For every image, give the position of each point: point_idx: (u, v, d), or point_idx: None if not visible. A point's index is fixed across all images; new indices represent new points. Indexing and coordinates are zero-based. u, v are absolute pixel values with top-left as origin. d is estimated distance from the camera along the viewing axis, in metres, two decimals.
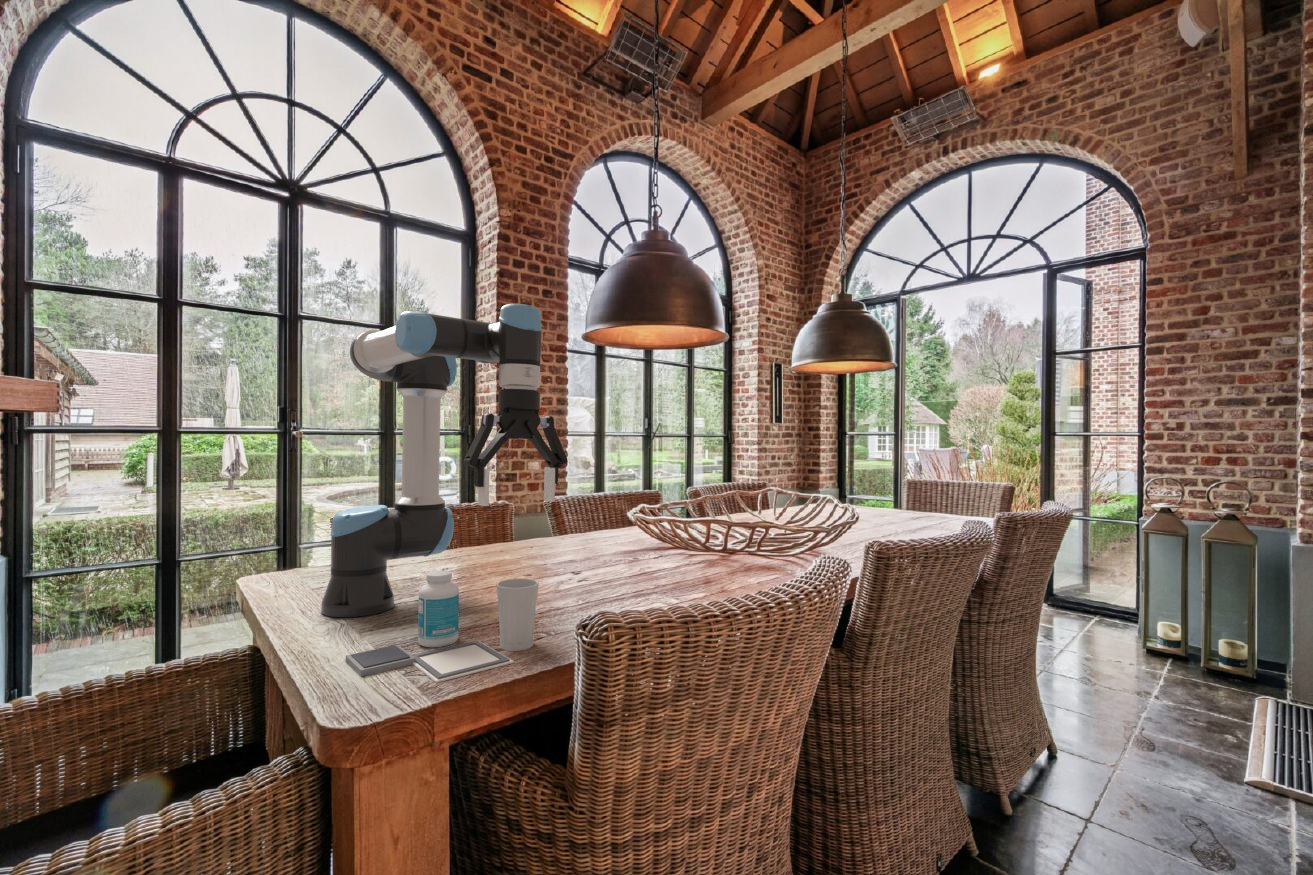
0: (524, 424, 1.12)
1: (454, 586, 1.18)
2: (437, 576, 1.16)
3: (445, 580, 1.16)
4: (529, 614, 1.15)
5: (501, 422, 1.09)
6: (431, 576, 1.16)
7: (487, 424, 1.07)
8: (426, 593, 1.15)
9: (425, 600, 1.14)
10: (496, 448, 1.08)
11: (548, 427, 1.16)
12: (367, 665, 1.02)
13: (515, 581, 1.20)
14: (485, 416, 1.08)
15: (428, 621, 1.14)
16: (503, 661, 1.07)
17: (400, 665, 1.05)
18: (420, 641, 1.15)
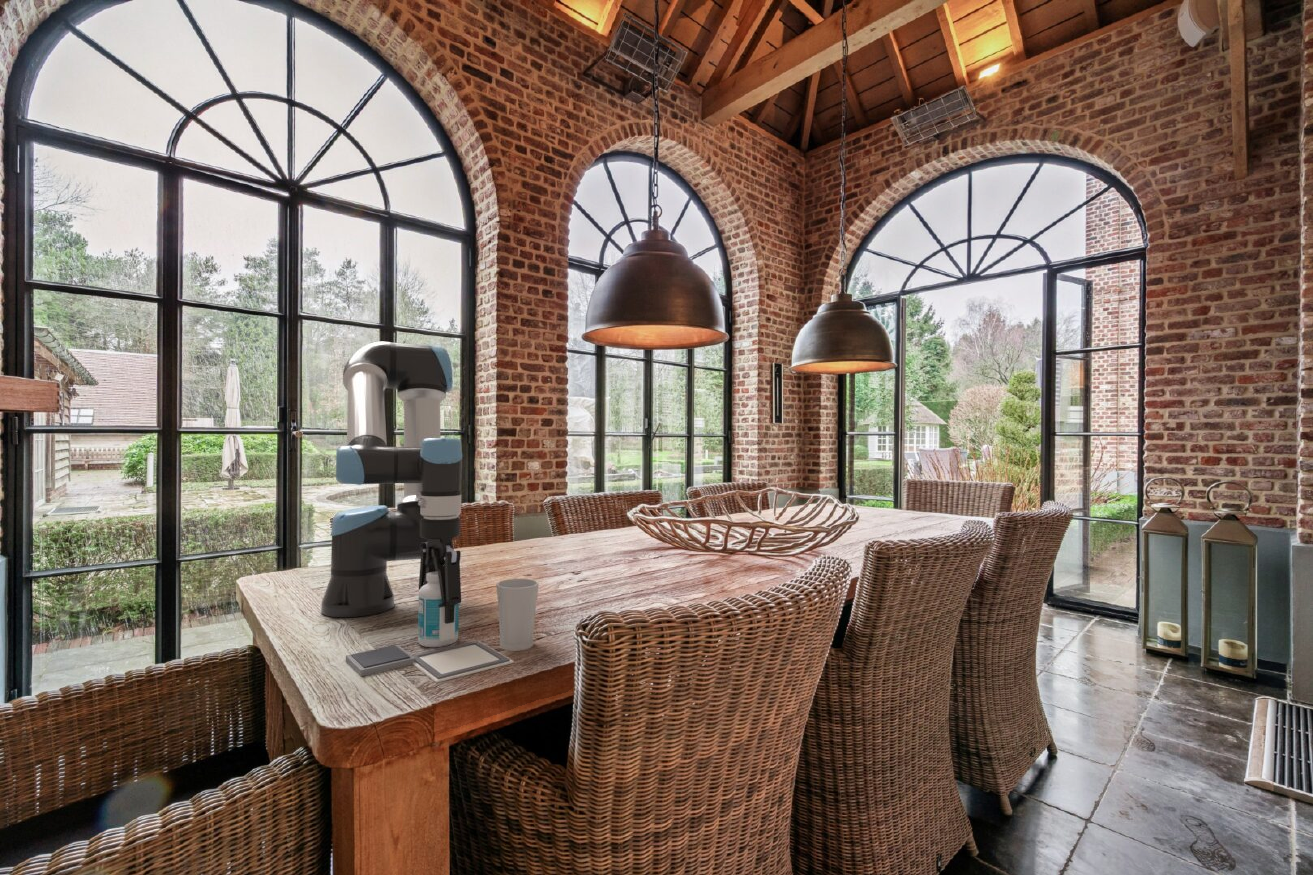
0: None
1: None
2: (437, 576, 1.16)
3: None
4: (529, 614, 1.15)
5: None
6: (431, 576, 1.16)
7: (421, 553, 1.22)
8: (426, 593, 1.15)
9: (425, 600, 1.14)
10: None
11: None
12: (367, 665, 1.02)
13: (515, 581, 1.20)
14: None
15: (428, 621, 1.14)
16: (503, 661, 1.07)
17: (400, 665, 1.05)
18: (420, 641, 1.15)
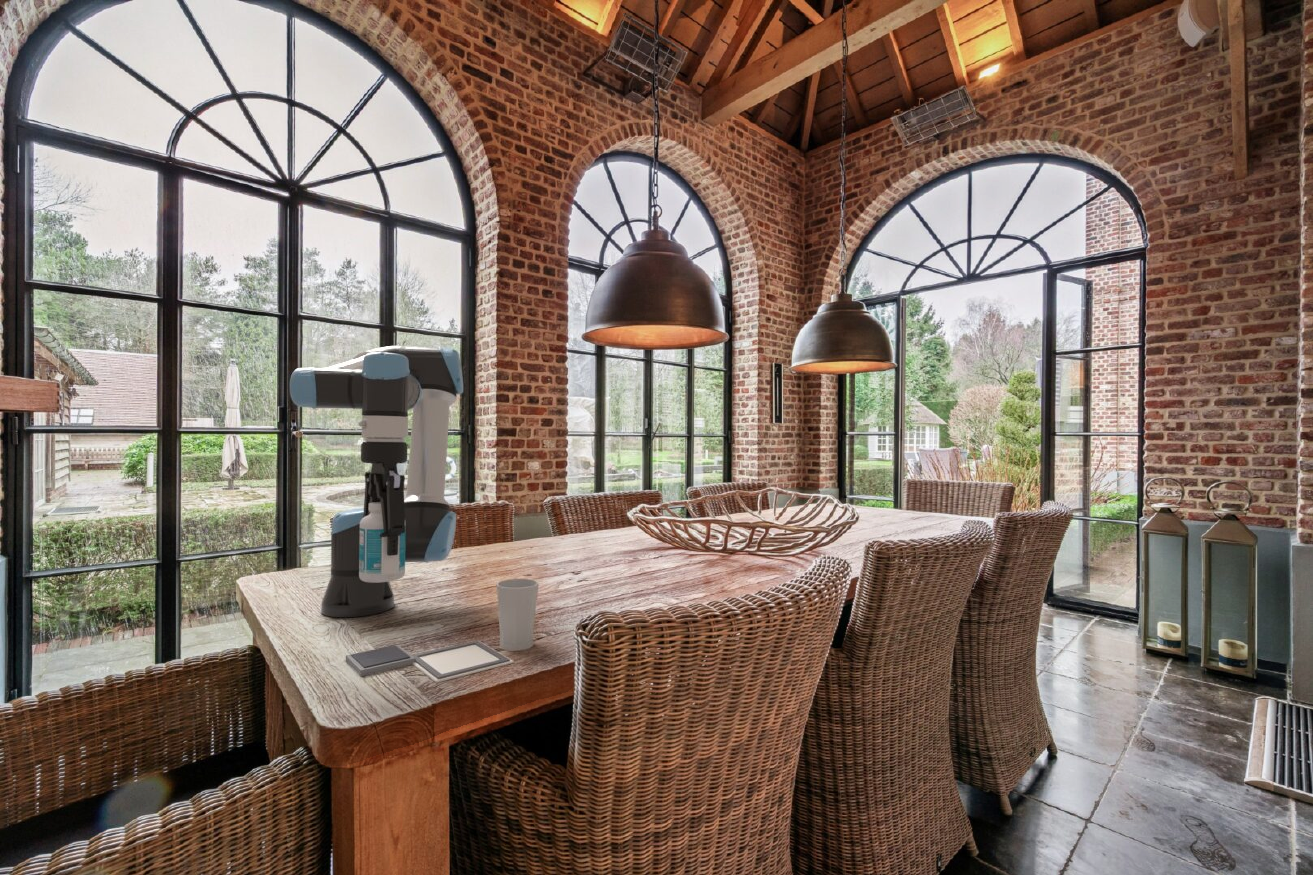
0: None
1: None
2: (380, 505, 1.05)
3: None
4: (529, 614, 1.15)
5: None
6: (373, 505, 1.05)
7: (365, 483, 1.11)
8: (366, 523, 1.04)
9: (366, 530, 1.03)
10: None
11: None
12: (367, 665, 1.02)
13: (515, 581, 1.20)
14: None
15: (369, 554, 1.03)
16: (503, 661, 1.07)
17: (400, 665, 1.05)
18: (361, 576, 1.04)
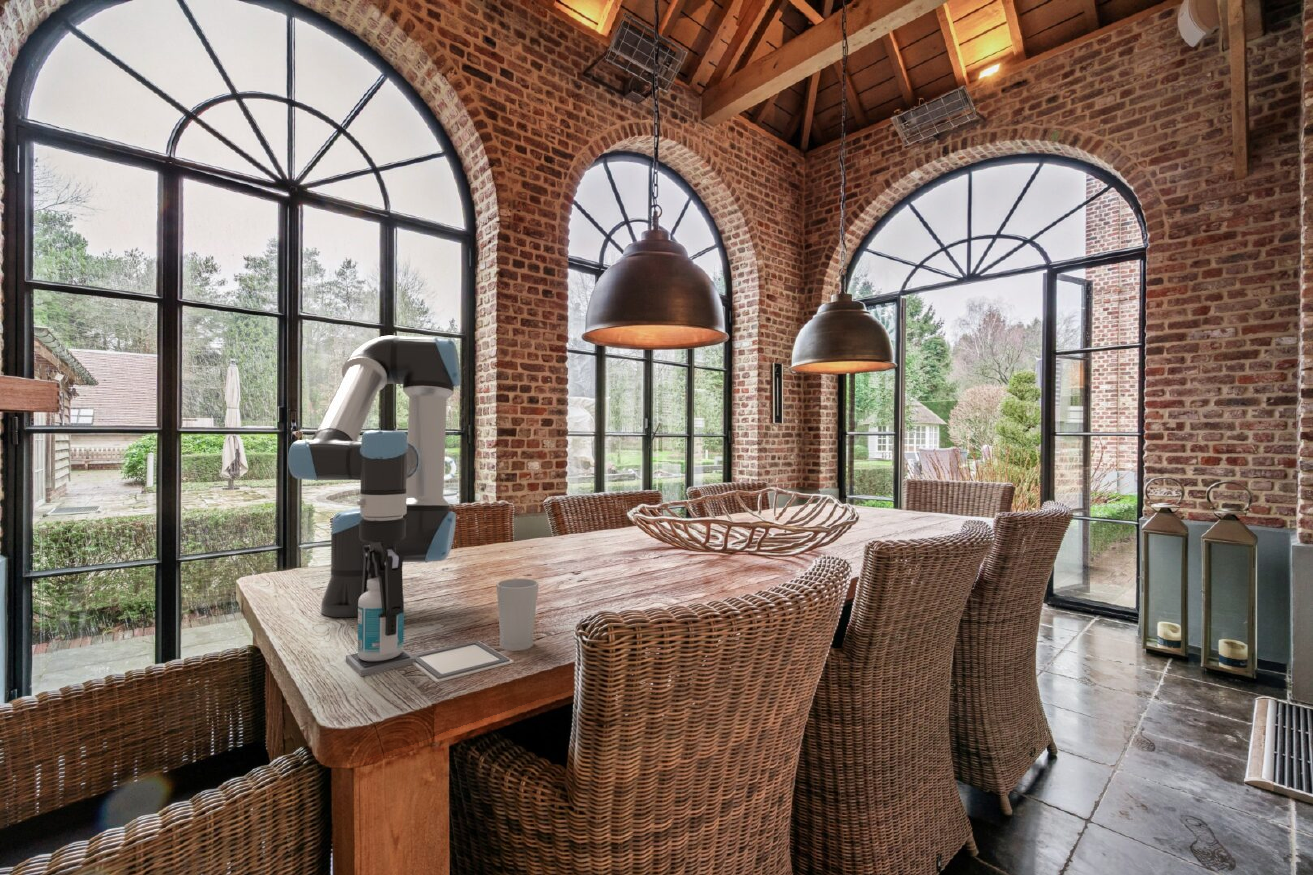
0: None
1: None
2: (378, 583, 1.05)
3: None
4: (529, 614, 1.15)
5: None
6: (372, 583, 1.05)
7: (364, 557, 1.11)
8: (365, 602, 1.04)
9: (365, 609, 1.03)
10: None
11: None
12: (367, 665, 1.02)
13: (515, 581, 1.20)
14: None
15: (368, 633, 1.03)
16: (503, 661, 1.07)
17: (400, 665, 1.05)
18: (359, 654, 1.04)
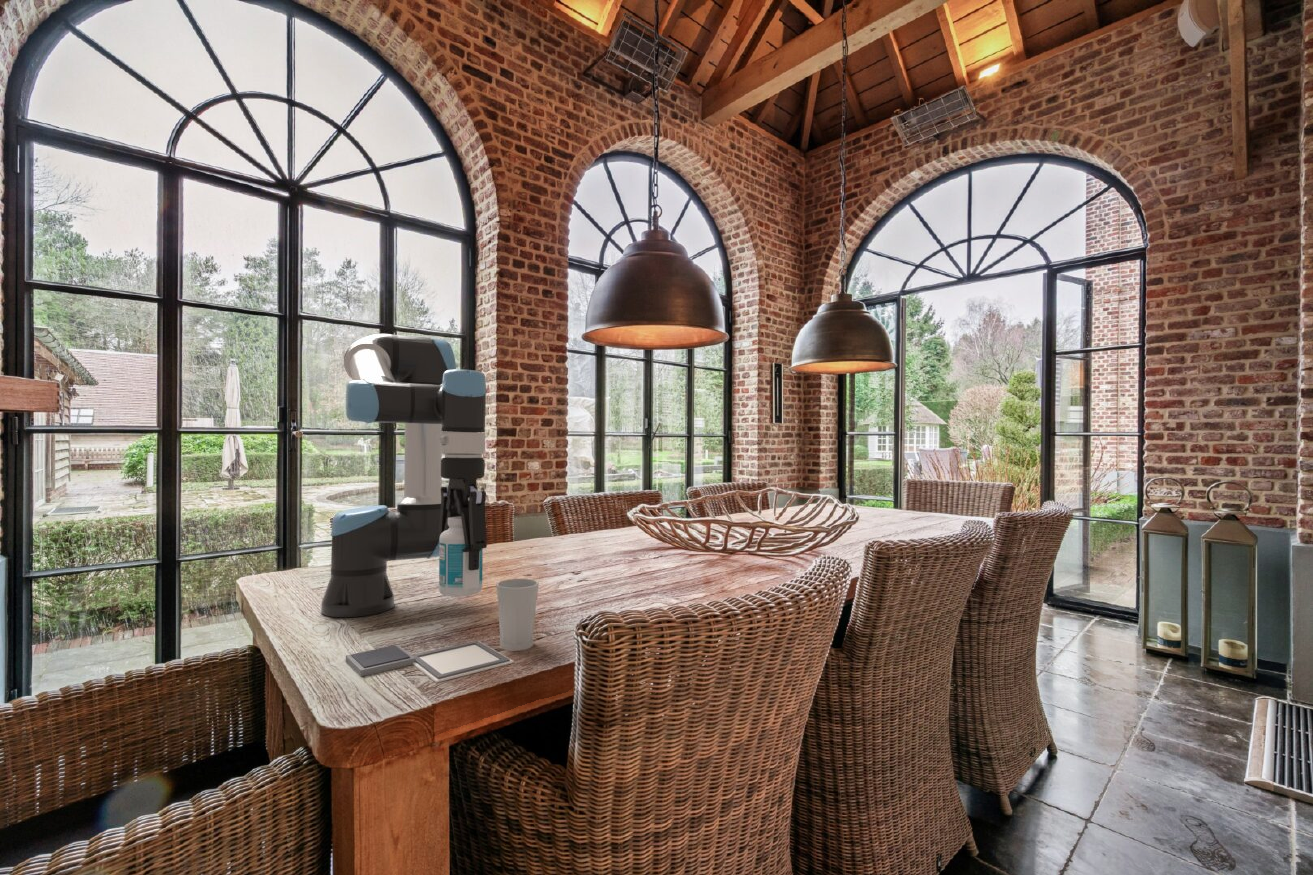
0: None
1: None
2: (460, 519, 1.06)
3: None
4: (529, 614, 1.15)
5: None
6: (453, 519, 1.06)
7: (441, 498, 1.12)
8: (447, 538, 1.05)
9: (447, 545, 1.05)
10: (447, 521, 1.10)
11: None
12: (367, 665, 1.02)
13: (515, 581, 1.20)
14: None
15: (451, 568, 1.05)
16: (503, 661, 1.07)
17: (400, 665, 1.05)
18: (441, 590, 1.05)
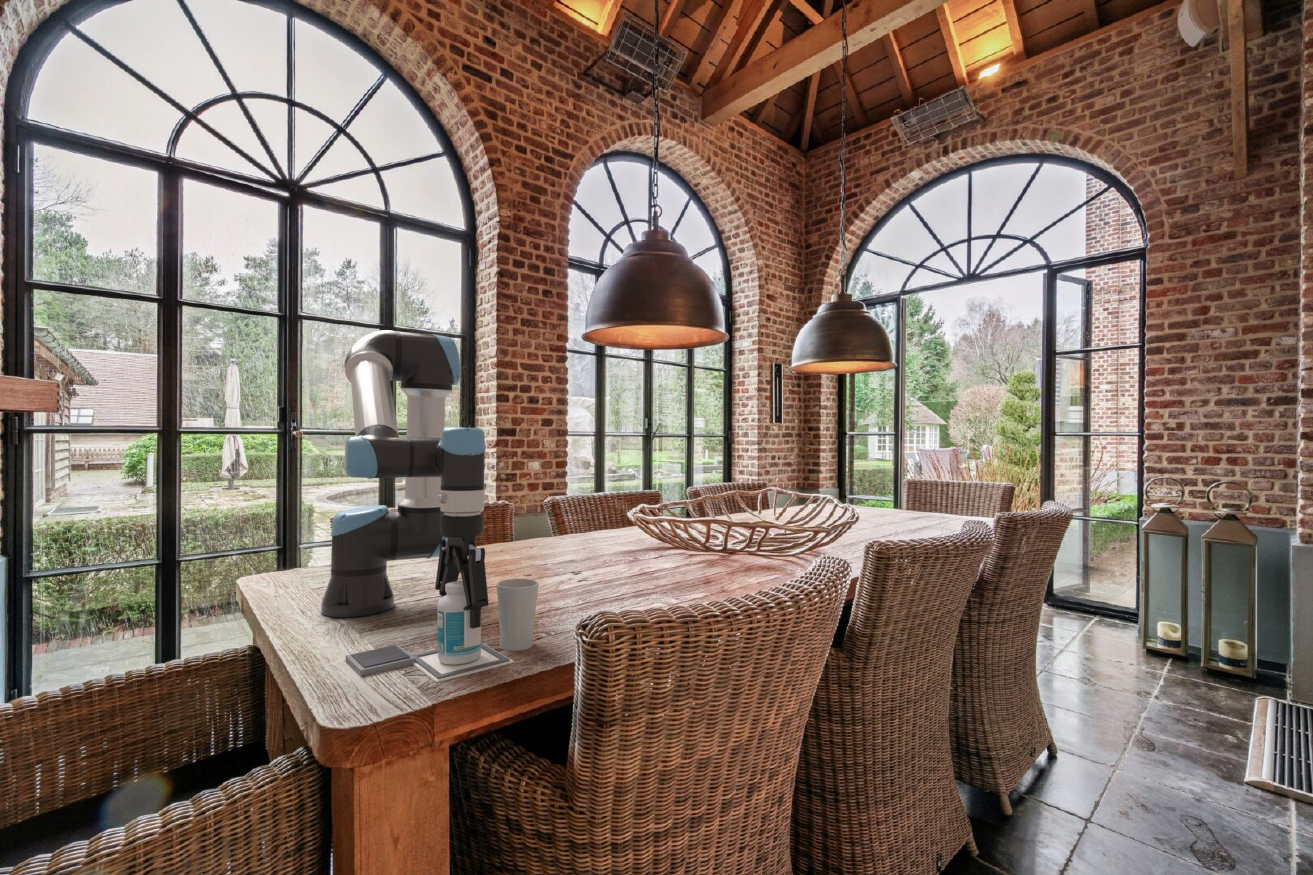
0: None
1: None
2: (457, 587, 1.06)
3: None
4: (529, 614, 1.15)
5: None
6: (451, 587, 1.06)
7: (440, 550, 1.12)
8: (445, 606, 1.05)
9: (445, 613, 1.05)
10: (445, 575, 1.10)
11: None
12: (367, 665, 1.02)
13: (515, 581, 1.20)
14: None
15: (449, 636, 1.05)
16: (503, 661, 1.07)
17: (400, 665, 1.05)
18: (440, 658, 1.05)
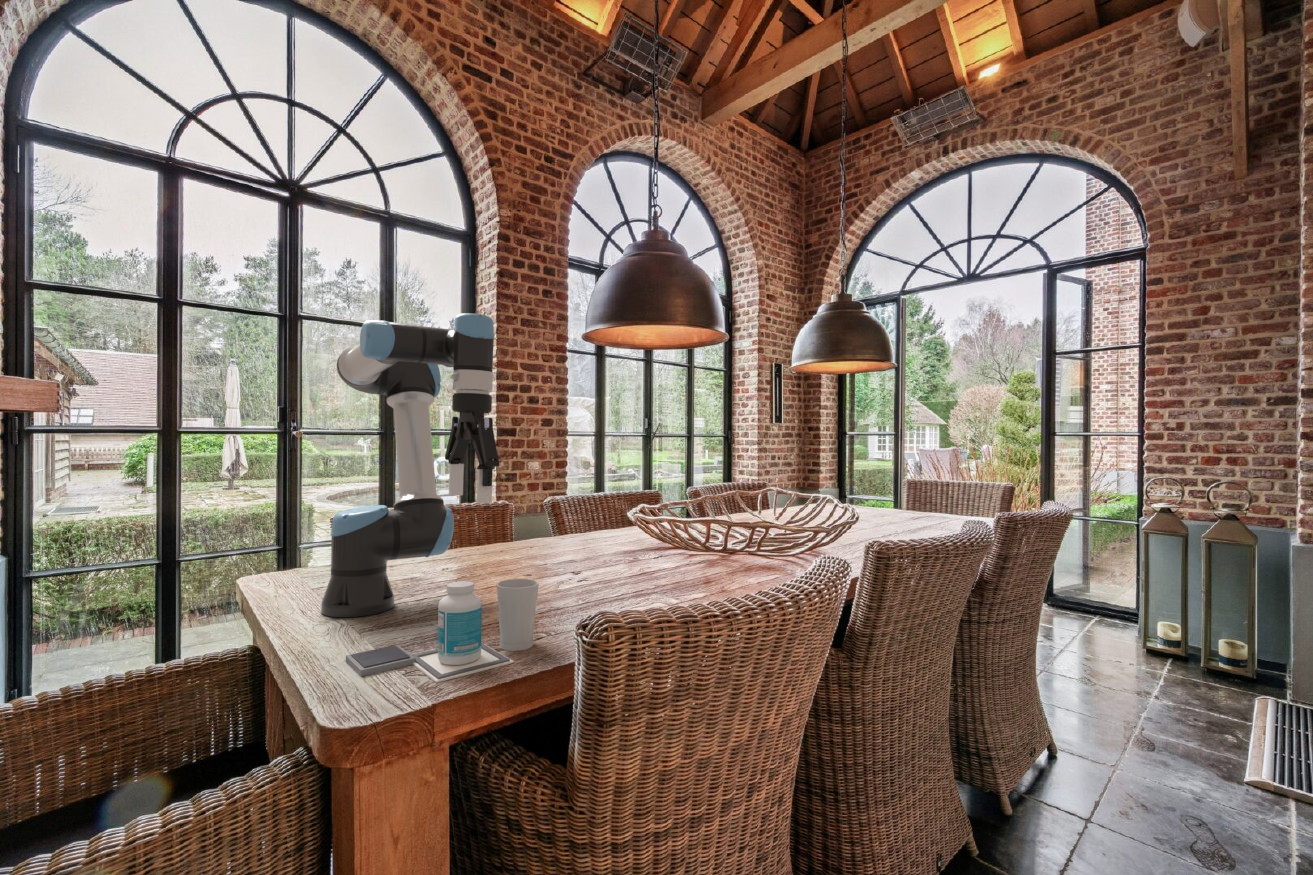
0: None
1: (477, 598, 1.08)
2: (459, 587, 1.06)
3: (467, 592, 1.07)
4: (529, 614, 1.15)
5: None
6: (452, 587, 1.06)
7: (452, 426, 1.25)
8: (446, 606, 1.05)
9: (446, 613, 1.05)
10: (454, 447, 1.23)
11: None
12: (367, 665, 1.02)
13: (515, 581, 1.20)
14: None
15: (450, 637, 1.05)
16: (503, 661, 1.07)
17: (400, 665, 1.05)
18: (440, 658, 1.05)
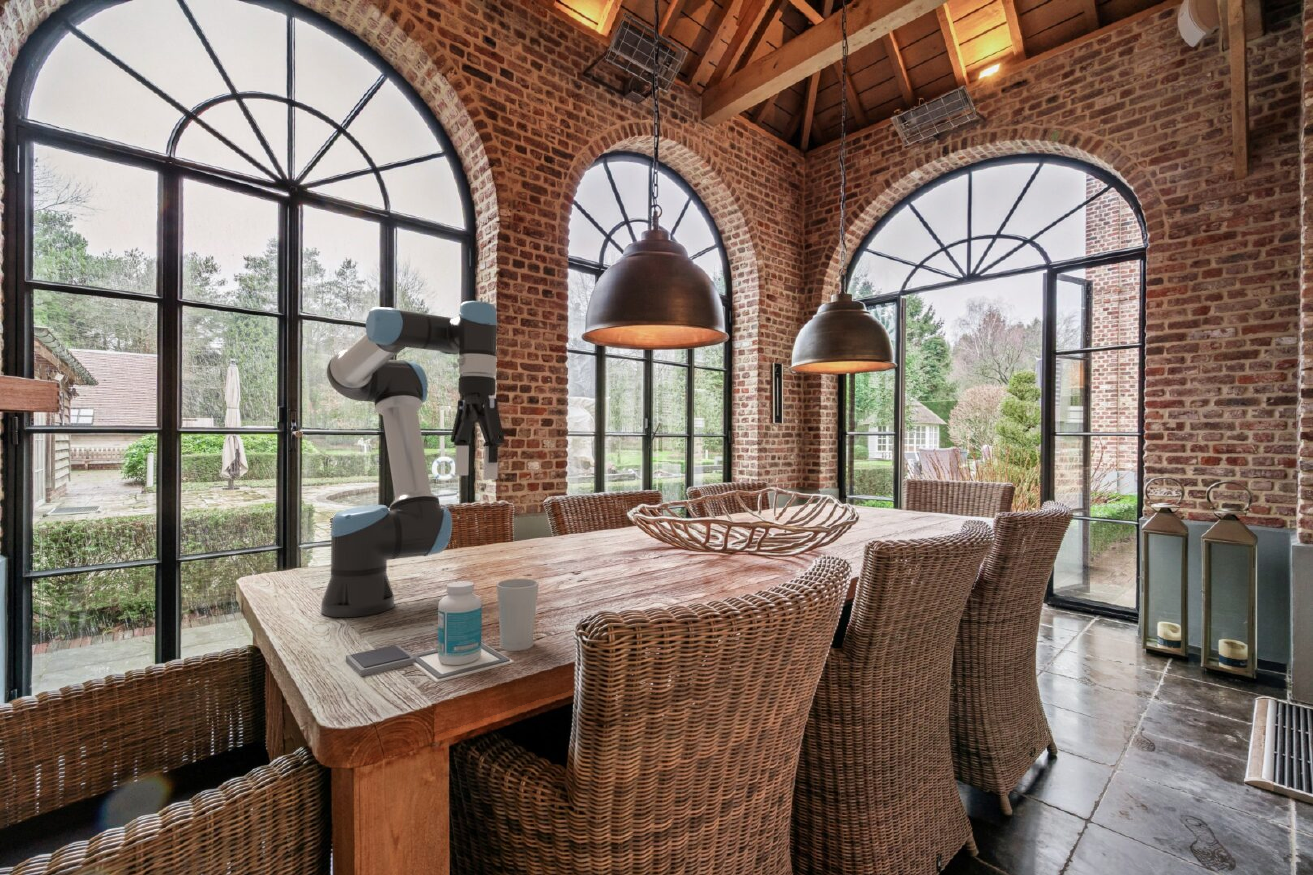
0: None
1: (477, 598, 1.08)
2: (459, 587, 1.06)
3: (467, 592, 1.07)
4: (529, 614, 1.15)
5: None
6: (452, 587, 1.06)
7: (457, 409, 1.31)
8: (446, 606, 1.05)
9: (446, 613, 1.05)
10: (460, 428, 1.30)
11: None
12: (367, 665, 1.02)
13: (515, 581, 1.20)
14: None
15: (449, 637, 1.05)
16: (503, 661, 1.07)
17: (400, 665, 1.05)
18: (440, 658, 1.05)
